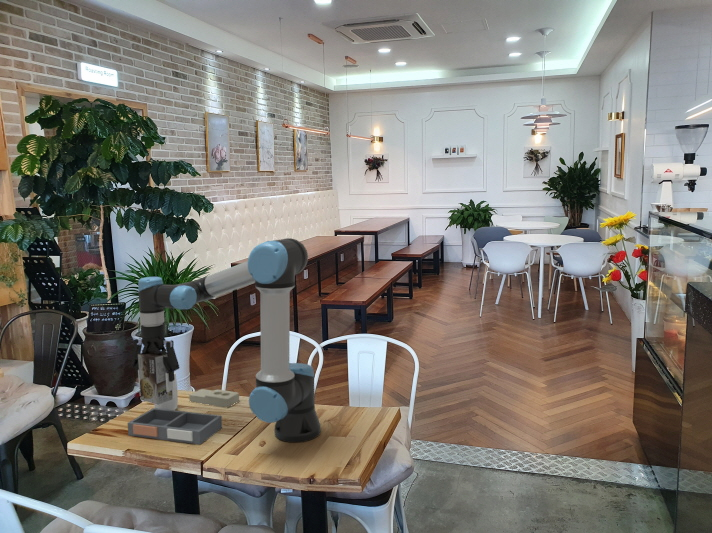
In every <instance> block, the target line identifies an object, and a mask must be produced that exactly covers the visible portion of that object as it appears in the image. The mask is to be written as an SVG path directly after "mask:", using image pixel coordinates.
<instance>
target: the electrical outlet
mask: <svg viewBox="0 0 712 533" xmlns="http://www.w3.org/2000/svg"><path fill="white" fill-rule="evenodd" d="M188 398H189V402H190V401H191V402H190V403H194V402H196V403H195V404H200V403H202V405H206V404H209V405H208V406H212V405H214V406H213V407H218V406H220V407H219V408H224V407H229V406H231V405H233V404H234V403H236V402H238V401H239V402H240V394H239V392H237V391H231V390H230V391H229V390H223V389H214V390H210V389H205V388H200V389H199V390H196V391H195V392H192V393H190V394H188ZM239 402H238V403H239ZM236 404H237V403H236ZM233 406H234V405H233ZM231 407H232V406H231ZM229 408H230V407H229Z"/></svg>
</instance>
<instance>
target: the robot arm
mask: <svg viewBox="0 0 712 533" xmlns="http://www.w3.org/2000/svg"><path fill="white" fill-rule="evenodd" d="M308 259H309V255H308V250H307V248H306V247H305V245H304V244H303V242H301V241H299V240H298V239H296V238H289V237H288V238H282V239H281V238H280V239H275V240H267V241H264V242H261V243H259V244H258V245H256V246H255V247H253V249H252V250H251V251H250V253H249V255H248V259H247V260H246V261H243V262H242V263H238V264H237V265H234V266H231V267H229V268H225V269H223V270H220V271H218V272H214V273H212V274H210V275H206V276H204V277H202V278H198V279H196V280H192V281H187V282H182V283H179V284H165V283H164V282H163V279H162V277H160V276H147V277H141V278H139V280H138V285H137V286H138V289H137V290H138V291H137V294H138V302H139V303H138V304H139V305H138V306H139V323H140V325H141V326H140V336H141V337H142V338H141V337H137V338H135V339H133V351H132V355H131V356H132V357H131V361H130V367H131V368H134V369H135V370H136V378H137V379H138V389H139V390H140V378H139V363H138V354H140V353H142V354H146V353H148V352H156V353H157V355H163V354H165V353H166V352H167V354H168V357H164V356H163V364H164V366H165V368H166V369H167V371H168V372H166V373H165V374H166V392H169V391H171V390H173V381H174V379H175V378H174V372H176V371H178V370H179V369H180V364H179V361H178V358H177V354H176V351H175V347H174V345H175V344H174V340H172V339H171V340H167V339H166V338H165V335H166V324H165V323H164V322H165V309H176V310H179V311H180V310H189V309H192V308H193V306H195V305H196V304H197V303H200V302H205V301H209V300H212V299H213V298H215V297H218V296H221V295H224V294H227V293H230V292H233V291H236V290H239V289H241V288H244V287H247V286H249V285H252V284H254V287H255V288H256V290H258V291H259V293H260V294H259V295H260V296H259V297H260V299H259V300H260V304H259V305H260V370H259V371H258V372H257V373H256V374H255V388H254V389H252V391H251V393H250V394H249V396H248V405H249V408H250V410H251V412H252V414H253V415H255V417H257V419H258V420H260V421H262V422H265V423H269V424H272V423H275V425H274V437H275V438H277V439H278V440H280V441H282V442H287V443H288V442H289V443H301V442H303V443H304V442H308V441H311V440H313V439H316V438H317V437H319V435H320V434H321V432H322V431H321V429H322V428H321V422H320V420H319V417H318V415H317V411H316V407H315V372H314V368H313V366H312V365H310V364H307V363H301V362H300V363H297V362H292V363H291V362H290V330H291V329H290V328H291V327H290V326H291V325H290V324H291V323H290V317H291V316H290V307H291V306H290V302H291V300H290V296H291V295H290V293H291V291H292V289H294V288H295V287H296V282H295V281H296V278H295V277H296V275H298V274H300V273H301V272H302V271H303V270H305V268H306V267H307V264H308Z"/></svg>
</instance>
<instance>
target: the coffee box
mask: <svg viewBox="0 0 712 533" xmlns="http://www.w3.org/2000/svg"><path fill="white" fill-rule="evenodd" d="M163 356H164V357H168V354H167V351H166V353H165V354H163V355H157V353H156V352H148V353H146V354H142V352H141V353H140V354H138V363H139V378H140V389H139V390H140V400H141V401H143V402H147V403H150V404H161V403H164V402H166V401H169V400H172V399H173V397H172V390H171V391H169V392H166V374H165V373H166V372H168V371H167V369H166V368H165V366H164V364H163ZM139 378H138V379H139Z"/></svg>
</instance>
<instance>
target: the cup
mask: <svg viewBox="0 0 712 533" xmlns="http://www.w3.org/2000/svg"><path fill="white" fill-rule="evenodd" d="M174 378H175V379H174V381H173V390H172V397H173V399H172V400H169V401H166V402H164V403H161V404H154V403H153V404H154V405H153V406H154V407H153V408H158V409H167V410H177V409H178V408H179V407H178V404H179V402H178V400H179V399H178V398H179V396H178V392H179V391H178V379H177V373H176V371H174Z"/></svg>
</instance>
